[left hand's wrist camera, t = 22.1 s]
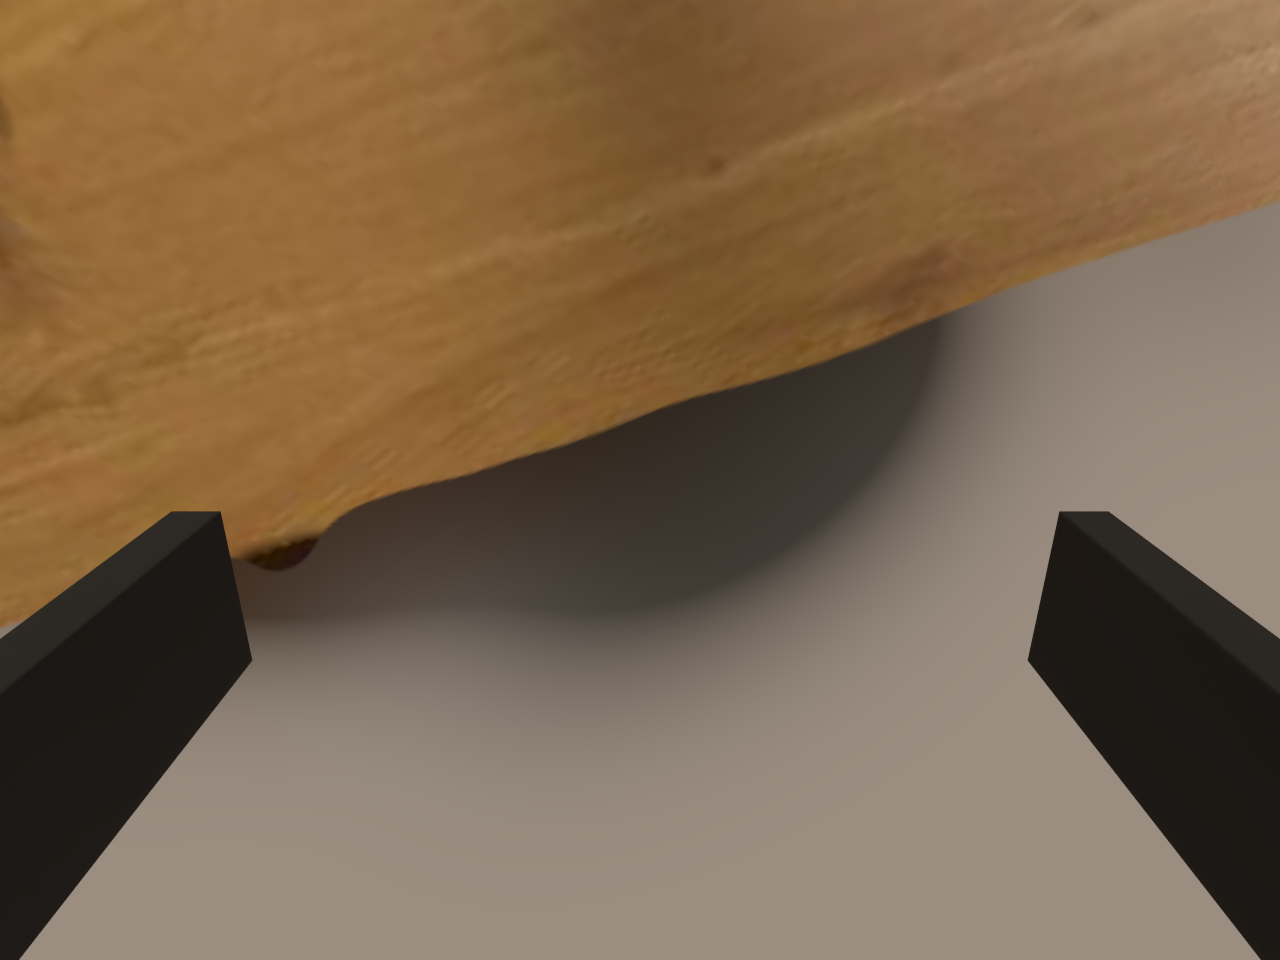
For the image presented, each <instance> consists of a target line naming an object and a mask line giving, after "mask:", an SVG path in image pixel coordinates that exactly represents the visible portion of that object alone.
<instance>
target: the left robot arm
mask: <svg viewBox="0 0 1280 960" xmlns="http://www.w3.org/2000/svg"><path fill="white" fill-rule="evenodd" d="M251 661H252V657H251V652H250V648H249V643H248V638H247V634H246V629H245V624H244V619H243V615H242V610H241V605H240V601H239V596H238V591H237V586H236V582H235V577H234V573H233V568H232V563H231V558H230V554H229V549H228V544H227V540H226V535H225V530H224V526H223V521H222V516H221V512H170V513H169V514H168V515H166V516H165V517H164V518H162V519H161V520H159V521H158V522H157V523H155V524H154V525H153V526H151V527H150V528H149V529H147V530H146V531H145V532H143V533H142V534H141V535H139V536H138V537H137V538H135V539H134V540H133V541H131V542H130V543H129V544H127V545H126V546H125V547H123V548H122V549H120V550H119V551H118V552H116V553H115V554H114V555H112V556H111V557H110V558H108V559H107V560H106V561H104V562H103V563H102V564H100V565H99V566H98V567H96V568H95V569H94V570H92V571H91V572H90V573H88V574H87V575H86V576H84V577H83V578H82V579H80V580H79V581H77V582H76V583H75V584H73V585H72V586H71V587H69V588H68V589H67V590H65V591H64V592H63V593H61V594H60V595H59V596H57V597H56V598H55V599H53V600H52V601H51V602H49V603H48V604H47V605H45V606H44V607H43V608H41V609H40V610H39V611H37V612H36V613H34V614H33V615H32V616H30V617H29V618H28V619H26V620H25V621H24V622H22V623H21V624H20V625H18V626H17V627H16V628H14V629H13V630H12V631H10V632H9V633H8V634H6V635H5V636H4V637H2V638H1V639H0V960H19V959H20V958H21V957H22V955H23V954H24V953H25V951H26V950H27V949H28V948H29V946H30V945H31V944H32V942H33V941H34V940H35V939H36V937H37V936H38V935H39V933H40V932H41V931H42V930H43V928H44V927H45V926H46V924H47V923H48V922H49V921H50V919H51V918H52V917H53V915H54V914H55V913H56V912H57V910H58V909H59V908H60V907H61V905H62V904H63V903H64V901H65V900H66V899H67V898H68V896H69V895H70V894H71V892H72V891H73V890H74V889H75V887H76V886H77V885H78V883H79V882H80V881H81V880H82V878H83V877H84V876H85V874H86V873H87V872H88V871H89V869H90V868H91V867H92V865H93V864H94V863H95V862H96V860H97V859H98V858H99V856H100V855H101V854H102V853H103V851H104V850H105V849H106V847H107V846H108V845H109V844H110V842H111V841H112V840H113V839H114V837H115V836H116V835H117V833H118V832H119V831H120V830H121V828H122V827H123V826H124V824H125V823H126V822H127V820H128V819H129V818H130V817H131V815H132V814H133V813H134V812H135V810H136V809H137V808H138V806H139V805H140V804H141V803H142V801H143V800H144V799H145V797H146V796H147V795H148V794H149V792H150V791H151V790H152V788H153V787H154V786H155V785H156V783H157V782H158V781H159V779H160V778H161V777H162V776H163V774H164V773H165V772H166V771H167V769H168V768H169V767H170V765H171V764H172V763H173V762H174V760H175V759H176V758H177V756H178V755H179V754H180V753H181V751H182V750H183V749H184V747H185V746H186V745H187V744H188V742H189V741H190V740H191V738H192V737H193V736H194V735H195V733H196V732H197V731H198V729H199V728H200V727H201V726H202V724H203V723H204V722H205V720H206V719H207V718H208V717H209V715H210V714H211V713H212V711H213V710H214V709H215V708H216V706H217V705H218V704H219V702H220V701H221V700H222V699H223V697H224V696H225V695H226V694H227V692H228V691H229V690H230V688H231V687H232V686H233V684H234V683H235V682H236V681H237V679H238V678H239V677H240V675H241V674H242V673H243V672H244V670H245V669H246V668H247V667H248V665H249V664H250V663H251ZM1028 661H1029V663H1030V664H1031V665H1032V667H1033V668H1034V669H1035V670H1036V672H1037V673H1038V674H1039V676H1040V677H1041V678H1042V679H1043V681H1044V682H1045V683H1046V685H1047V686H1048V687H1049V688H1050V690H1051V691H1052V692H1053V693H1054V695H1055V696H1056V697H1057V699H1058V700H1059V701H1060V703H1061V704H1062V705H1063V706H1064V708H1065V709H1066V710H1067V711H1068V713H1069V714H1070V715H1071V717H1072V718H1073V719H1074V720H1075V722H1076V723H1077V724H1078V726H1079V727H1080V728H1081V729H1082V731H1083V732H1084V733H1085V735H1086V736H1087V737H1088V738H1089V740H1090V741H1091V742H1092V744H1093V745H1094V746H1095V747H1096V749H1097V750H1098V751H1099V752H1100V754H1101V755H1102V756H1103V758H1104V759H1105V760H1106V762H1107V763H1108V764H1109V765H1110V767H1111V768H1112V769H1113V770H1114V772H1115V773H1116V774H1117V776H1118V777H1119V778H1120V779H1121V781H1122V782H1123V783H1124V785H1125V786H1126V787H1127V788H1128V790H1129V791H1130V792H1131V794H1132V795H1133V796H1134V797H1135V799H1136V800H1137V801H1138V803H1139V804H1140V805H1141V806H1142V808H1143V809H1144V810H1145V812H1146V813H1147V814H1148V815H1149V817H1150V818H1151V819H1152V821H1153V822H1154V823H1155V824H1156V826H1157V827H1158V828H1159V830H1160V831H1161V832H1162V833H1163V835H1164V836H1165V837H1166V838H1167V840H1168V841H1169V842H1170V844H1171V845H1172V846H1173V847H1174V849H1175V850H1176V851H1177V853H1178V854H1179V855H1180V856H1181V858H1182V859H1183V860H1184V862H1185V863H1186V864H1187V865H1188V867H1189V868H1190V869H1191V871H1192V872H1193V873H1194V874H1195V876H1196V877H1197V878H1198V880H1199V881H1200V882H1201V883H1202V885H1203V886H1204V887H1205V888H1206V890H1207V891H1208V892H1209V894H1210V895H1211V896H1212V898H1213V899H1214V900H1215V901H1216V903H1217V904H1218V905H1219V907H1220V908H1221V909H1222V910H1223V912H1224V913H1225V914H1226V915H1227V917H1228V918H1229V919H1230V921H1231V922H1232V923H1233V924H1234V926H1235V927H1236V928H1237V930H1238V931H1239V932H1240V933H1241V935H1242V936H1243V937H1244V939H1245V940H1246V941H1247V942H1248V944H1249V945H1250V946H1251V948H1252V949H1253V950H1254V951H1255V953H1256V954H1257V955H1258V957H1259V958H1260V959H1261V960H1280V639H1279V638H1278V637H1276V636H1275V635H1274V634H1272V633H1271V632H1270V631H1268V630H1267V629H1266V628H1264V627H1263V626H1262V625H1260V624H1259V623H1258V622H1256V621H1255V620H1254V619H1252V618H1251V617H1250V616H1248V615H1247V614H1246V613H1244V612H1243V611H1241V610H1240V609H1239V608H1237V607H1236V606H1235V605H1233V604H1232V603H1231V602H1229V601H1228V600H1227V599H1225V598H1224V597H1223V596H1221V595H1220V594H1219V593H1217V592H1216V591H1215V590H1213V589H1212V588H1210V587H1209V586H1208V585H1206V584H1205V583H1204V582H1202V581H1201V580H1200V579H1198V578H1197V577H1196V576H1194V575H1193V574H1192V573H1190V572H1189V571H1188V570H1186V569H1185V568H1184V567H1182V566H1181V565H1180V564H1178V563H1177V562H1176V561H1174V560H1173V559H1172V558H1170V557H1169V556H1168V555H1166V554H1165V553H1163V552H1162V551H1161V550H1160V549H1158V548H1157V547H1155V546H1154V545H1153V544H1151V543H1150V542H1149V541H1147V540H1146V539H1145V538H1143V537H1142V536H1141V535H1139V534H1138V533H1137V532H1135V531H1134V530H1133V529H1131V528H1130V527H1129V526H1127V525H1126V524H1125V523H1123V522H1122V521H1121V520H1119V519H1118V518H1116V517H1115V516H1114V515H1112V514H1111V513H1110V512H1059V516H1058V521H1057V526H1056V530H1055V535H1054V540H1053V544H1052V549H1051V554H1050V558H1049V563H1048V568H1047V573H1046V577H1045V582H1044V587H1043V591H1042V596H1041V601H1040V605H1039V610H1038V615H1037V619H1036V624H1035V629H1034V633H1033V638H1032V643H1031V647H1030V652H1029V657H1028Z"/></svg>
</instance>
